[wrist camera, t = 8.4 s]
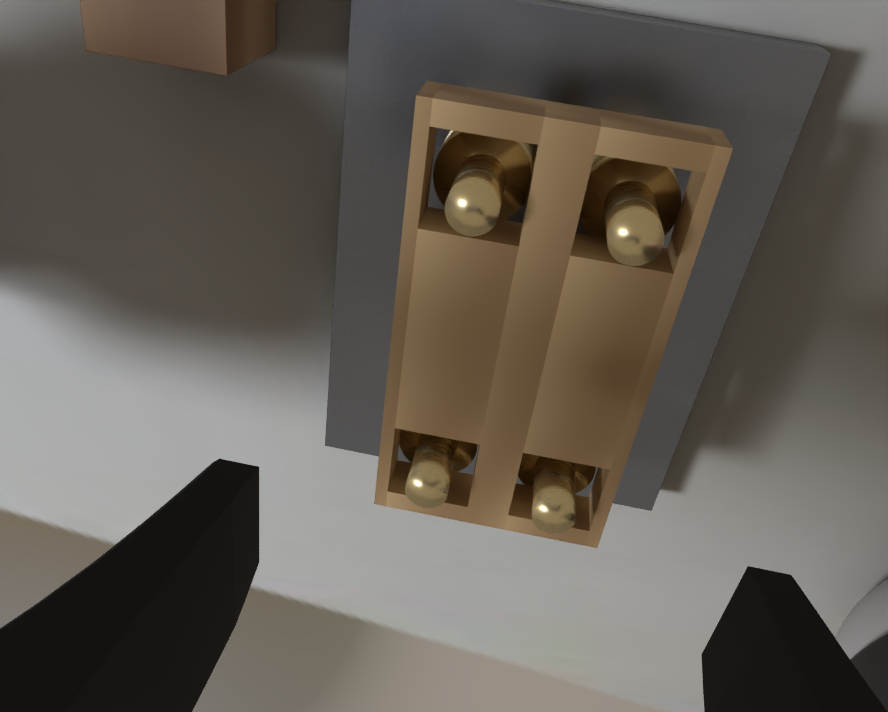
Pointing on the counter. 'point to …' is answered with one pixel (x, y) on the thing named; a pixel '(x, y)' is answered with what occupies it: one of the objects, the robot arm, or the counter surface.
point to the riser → (182, 31)
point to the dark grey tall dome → (869, 640)
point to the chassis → (507, 186)
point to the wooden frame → (534, 309)
